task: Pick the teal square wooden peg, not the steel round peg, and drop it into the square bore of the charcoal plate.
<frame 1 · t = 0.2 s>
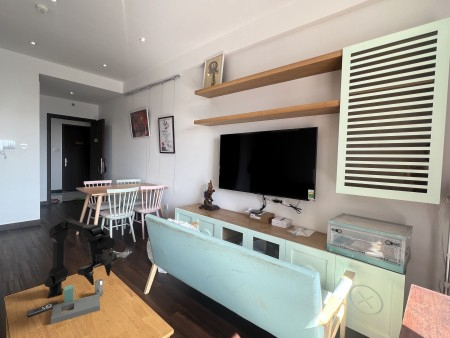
hand: (101, 280, 113), 15 cm above the table, fingers open, 9 cm apart
square peg: (68, 301, 117), on the table
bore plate: (77, 310, 111), on the table
round peg: (98, 294, 124), on the table
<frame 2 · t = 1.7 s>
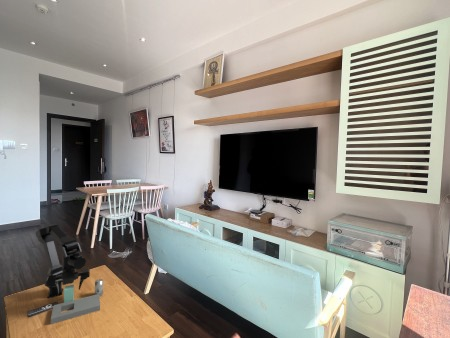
hand: (68, 292, 117), 5 cm above the table, fingers open, 9 cm apart
nothing on the table moved.
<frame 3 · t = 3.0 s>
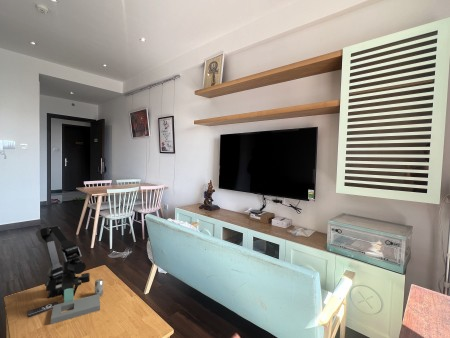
hand: (68, 296, 117), 3 cm above the table, fingers closed on square peg, 4 cm apart
square peg: (68, 301, 117), on the table, touching gripper
everything else where it was.
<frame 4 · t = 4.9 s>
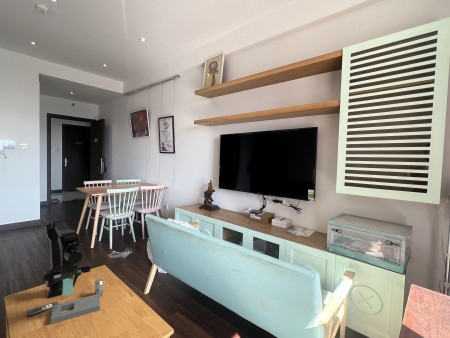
hand: (68, 287, 109), 12 cm above the table, fingers closed on square peg, 4 cm apart
square peg: (68, 293, 110), point 10 cm above the table, touching gripper
everything else where it was.
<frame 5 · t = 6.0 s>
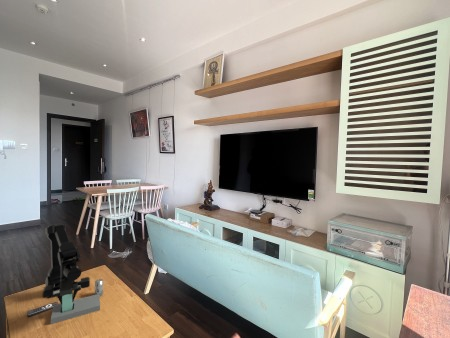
hand: (67, 302, 109), 5 cm above the table, fingers closed on square peg, 4 cm apart
square peg: (67, 308, 109), point 2 cm above the table, touching gripper
everything else where it was.
when the fingers open (4 cm above the table, at t = 6.9 s): square peg drops 1 cm, resting in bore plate.
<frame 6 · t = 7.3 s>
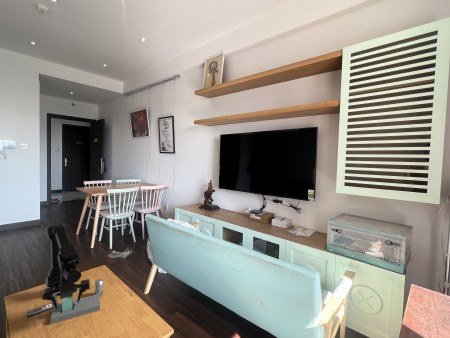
hand: (67, 305, 109), 4 cm above the table, fingers open, 8 cm apart
square peg: (67, 312, 109), resting in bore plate
everything else where it was.
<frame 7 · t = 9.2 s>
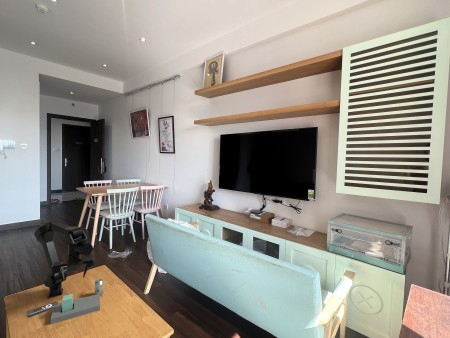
hand: (73, 279, 118), 12 cm above the table, fingers open, 9 cm apart
nothing on the table moved.
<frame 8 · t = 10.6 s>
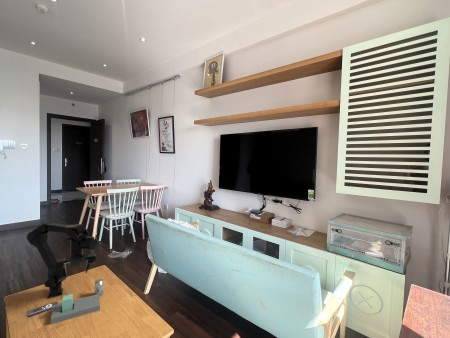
hand: (76, 275, 122), 12 cm above the table, fingers open, 9 cm apart
nothing on the table moved.
at the end: square peg 0.0 cm from the target spot on the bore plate, point 0.0 cm above the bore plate's base; square peg tilted 0°; round peg moved 0.0 cm from its start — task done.
